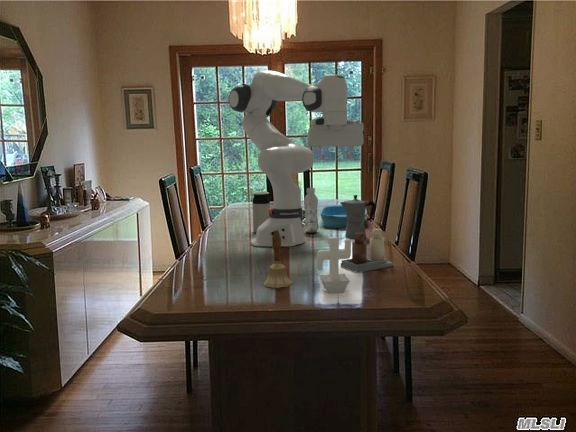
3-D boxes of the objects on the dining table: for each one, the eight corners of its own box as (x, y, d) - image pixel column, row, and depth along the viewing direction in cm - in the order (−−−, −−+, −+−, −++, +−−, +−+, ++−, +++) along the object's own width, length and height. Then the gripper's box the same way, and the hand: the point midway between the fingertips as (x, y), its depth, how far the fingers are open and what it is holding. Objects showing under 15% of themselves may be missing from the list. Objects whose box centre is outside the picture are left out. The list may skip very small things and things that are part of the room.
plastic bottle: (320, 231, 234) (319, 187, 231) (316, 234, 228) (315, 189, 225) (306, 231, 236) (306, 187, 233) (302, 233, 230) (301, 188, 227)
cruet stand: (357, 272, 161) (357, 235, 159) (340, 266, 169) (340, 231, 167) (393, 266, 168) (393, 230, 166) (375, 260, 176) (375, 226, 174)
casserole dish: (367, 230, 237) (367, 214, 236) (318, 230, 240) (318, 214, 239) (365, 218, 273) (365, 204, 272) (323, 218, 276) (323, 205, 275)
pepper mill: (354, 266, 164) (354, 235, 162) (350, 262, 169) (350, 232, 167) (368, 265, 165) (368, 234, 163) (364, 261, 169) (364, 231, 168)
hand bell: (295, 286, 147) (294, 231, 145) (267, 289, 145) (265, 233, 142) (287, 279, 155) (286, 227, 153) (260, 282, 153) (258, 229, 150)
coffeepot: (337, 238, 217) (337, 195, 215) (343, 234, 226) (343, 193, 223) (373, 240, 211) (373, 196, 209) (378, 236, 220) (378, 194, 218)
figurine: (315, 287, 145) (314, 235, 143) (348, 286, 146) (347, 234, 144) (319, 295, 138) (318, 240, 136) (354, 293, 139) (353, 238, 137)
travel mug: (268, 233, 234) (267, 193, 231) (251, 232, 235) (250, 193, 233) (272, 229, 242) (271, 191, 239) (255, 229, 243) (254, 191, 240)
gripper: (361, 120, 188) (361, 158, 190) (305, 121, 186) (306, 159, 188) (365, 119, 182) (365, 158, 184) (307, 120, 180) (308, 160, 182)
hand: (335, 159), depth 186 cm, fingers open, 8 cm apart
